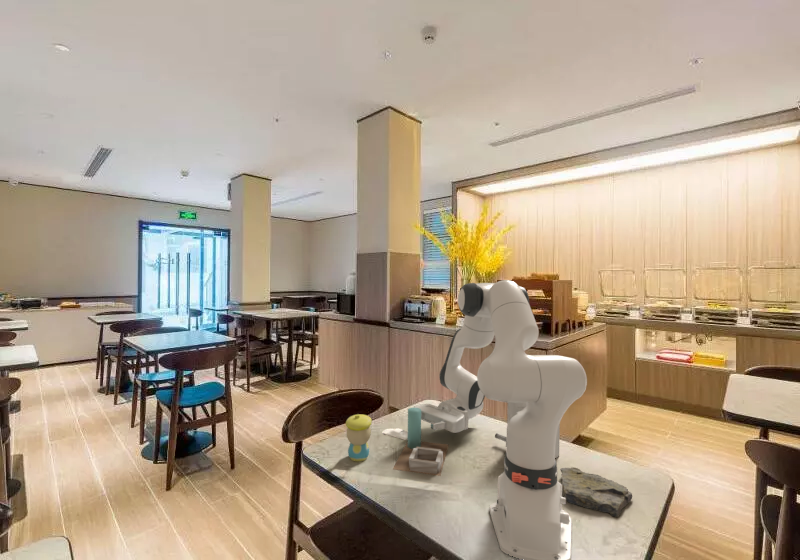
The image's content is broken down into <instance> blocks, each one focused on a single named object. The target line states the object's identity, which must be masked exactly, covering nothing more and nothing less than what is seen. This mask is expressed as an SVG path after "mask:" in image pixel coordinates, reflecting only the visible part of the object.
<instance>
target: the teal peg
mask: <svg viewBox="0 0 800 560" xmlns="http://www.w3.org/2000/svg"><path fill="white" fill-rule="evenodd" d="M407 432H408V439H407V441H408V447H409V448H410V449H414V448H416V447H421V441H422V420H421V409H419V408H413V407H409V408H407Z"/></svg>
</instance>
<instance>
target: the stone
mask: <svg viewBox="0 0 800 560" xmlns="http://www.w3.org/2000/svg"><path fill="white" fill-rule="evenodd" d="M559 470H560V472H561V485H562V492H563V495H564V498H566V502H567V503H570V504H572V505H577V506H580V507H583V508H586V509H589V510H596V511H599V512H602V513H608V514H610V515H611V517H615V518H618V517H619V516H621V512H622V510H623V508H625V507H627V505H628V504H629V503H630V502H631V501H632V500H633V493H632V492H631V491H629V490H628V488H627V487H626V486H624V485H622V484H619V483H618V482H615V481H614V480H611V479H608V478H606V477H603V476H601V475H599V474H595V473H589V472H585V471H582V470H581V469H580V468H578V467H575V466H574V467H562V468H560V469H559Z"/></svg>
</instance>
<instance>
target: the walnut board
mask: <svg viewBox="0 0 800 560" xmlns="http://www.w3.org/2000/svg"><path fill="white" fill-rule="evenodd" d="M406 441H407V442H406V443H405V445H404V447H403V449H402V451H401V453H400V455H399V456H398V458H397V460H396V462H395V464H394V465H393V468H392V470H394V471H403V472H409V473H416V474H423V475H431V476H438V477H441V476H442V471H443V468H444V465H445V462H446V458H447V455H448V449H449V446H450V444H447V443H446V444H445V443H439V442H430V441H429V442H428V441H422V440H421V447H416V448H414V449H410V448H409V447H408V440H406Z"/></svg>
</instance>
